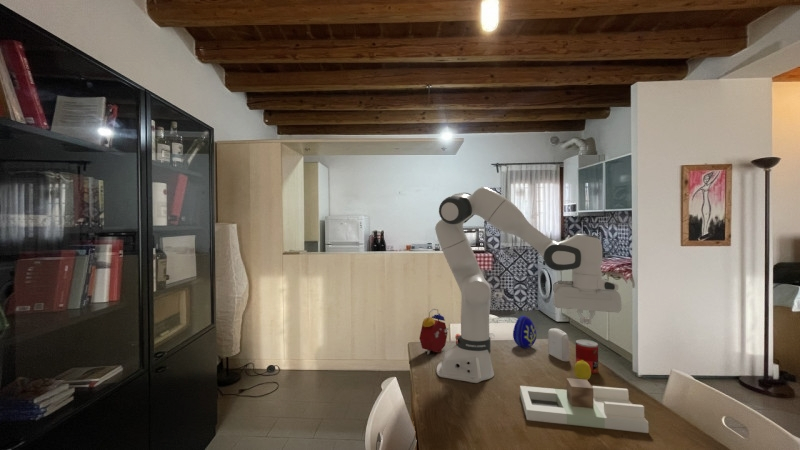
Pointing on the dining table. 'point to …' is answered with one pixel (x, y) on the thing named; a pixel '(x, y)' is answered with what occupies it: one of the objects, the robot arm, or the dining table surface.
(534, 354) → the dining table surface
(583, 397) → the walnut block
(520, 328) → the ornament
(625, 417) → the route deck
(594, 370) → the canned food
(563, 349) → the white rounded block
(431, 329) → the alarm clock
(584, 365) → the lemon
